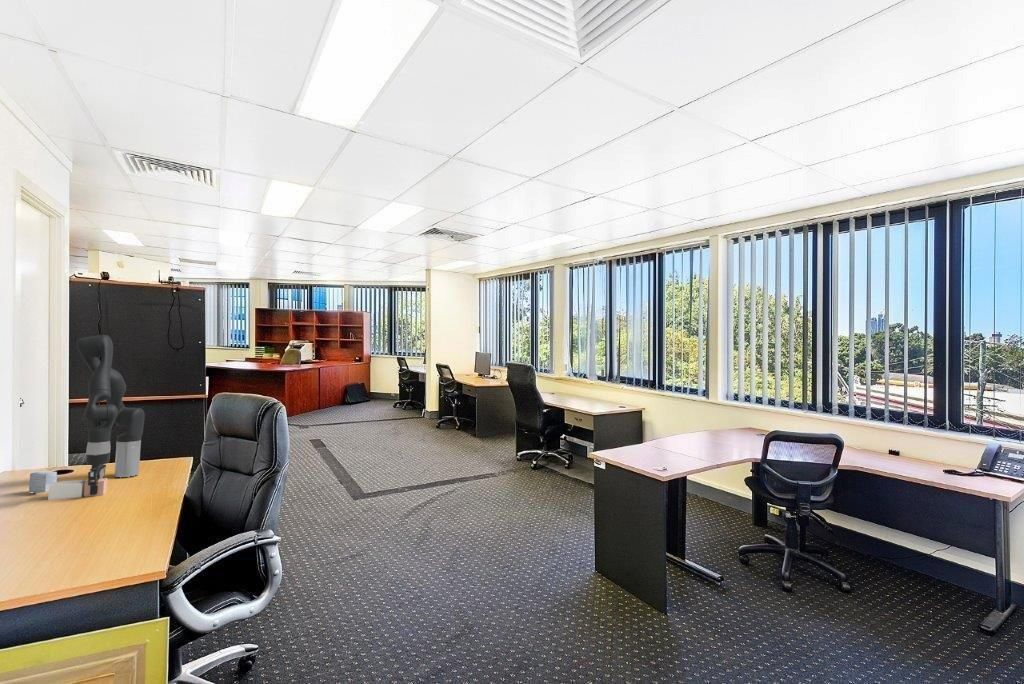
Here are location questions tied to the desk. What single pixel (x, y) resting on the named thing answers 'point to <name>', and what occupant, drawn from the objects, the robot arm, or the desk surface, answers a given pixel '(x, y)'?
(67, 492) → the ticket block
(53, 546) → the desk surface
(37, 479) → the medicine box
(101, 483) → the pink cube block
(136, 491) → the desk surface
